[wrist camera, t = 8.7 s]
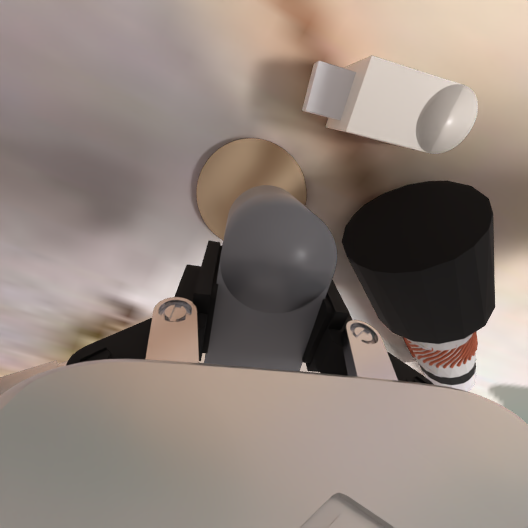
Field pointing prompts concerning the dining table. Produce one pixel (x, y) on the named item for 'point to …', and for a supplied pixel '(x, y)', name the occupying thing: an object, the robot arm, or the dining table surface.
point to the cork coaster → (244, 177)
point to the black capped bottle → (429, 272)
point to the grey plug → (269, 281)
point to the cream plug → (392, 104)
